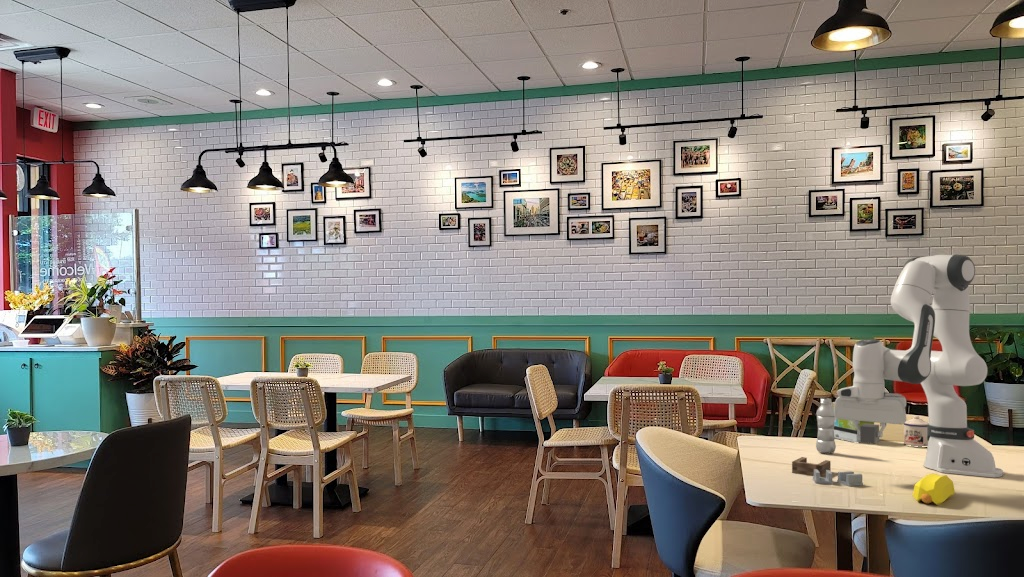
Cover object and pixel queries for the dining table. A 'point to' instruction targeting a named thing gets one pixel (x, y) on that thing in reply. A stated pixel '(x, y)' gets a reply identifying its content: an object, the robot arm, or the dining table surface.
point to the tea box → (846, 429)
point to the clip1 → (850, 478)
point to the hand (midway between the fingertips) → (869, 436)
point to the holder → (810, 467)
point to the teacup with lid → (915, 432)
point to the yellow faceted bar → (933, 489)
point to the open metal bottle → (825, 427)
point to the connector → (869, 433)
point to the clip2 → (822, 480)
